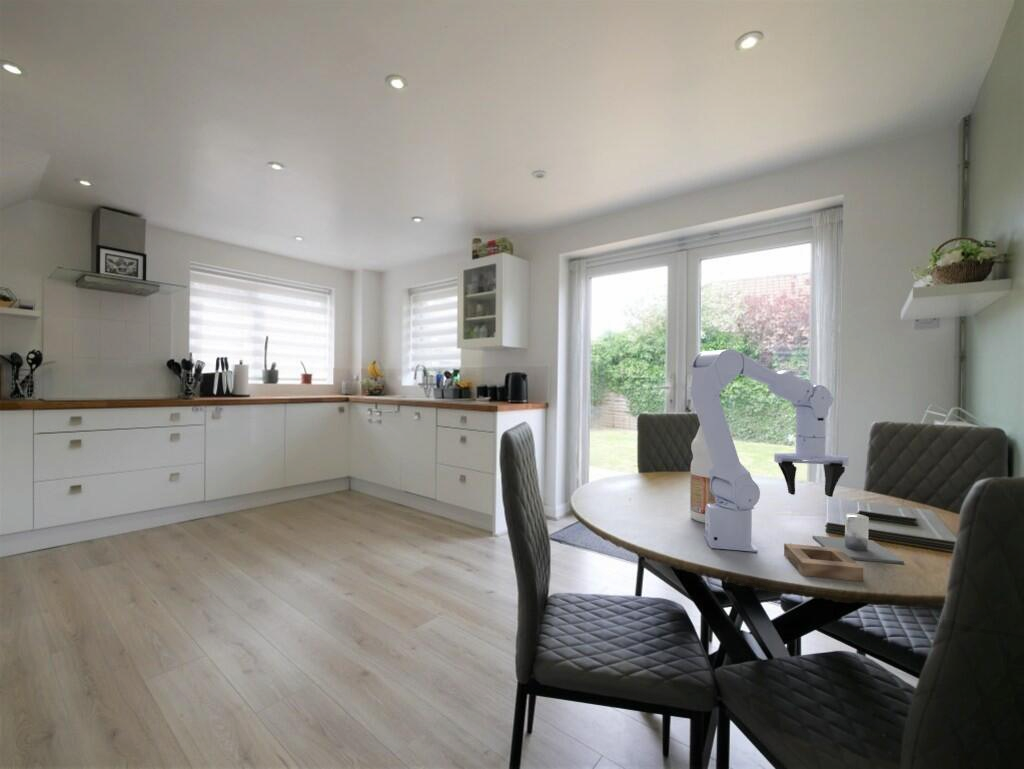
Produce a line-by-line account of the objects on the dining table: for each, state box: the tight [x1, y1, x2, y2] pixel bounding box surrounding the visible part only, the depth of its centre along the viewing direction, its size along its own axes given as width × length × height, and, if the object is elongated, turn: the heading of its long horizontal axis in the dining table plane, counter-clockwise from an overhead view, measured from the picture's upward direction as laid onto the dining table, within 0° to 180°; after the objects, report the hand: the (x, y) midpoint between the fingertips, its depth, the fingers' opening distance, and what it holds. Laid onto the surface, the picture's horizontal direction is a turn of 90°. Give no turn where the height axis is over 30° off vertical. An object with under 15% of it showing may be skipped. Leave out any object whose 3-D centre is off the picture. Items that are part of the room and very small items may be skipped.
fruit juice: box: [689, 424, 716, 524], centre depth 119 cm, size 9×9×28 cm
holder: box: [783, 543, 864, 582], centre depth 89 cm, size 10×10×2 cm
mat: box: [812, 535, 905, 565], centre depth 98 cm, size 12×12×1 cm
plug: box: [844, 512, 870, 552], centre depth 97 cm, size 4×4×7 cm
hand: (809, 494), depth 104 cm, fingers open, 7 cm apart
